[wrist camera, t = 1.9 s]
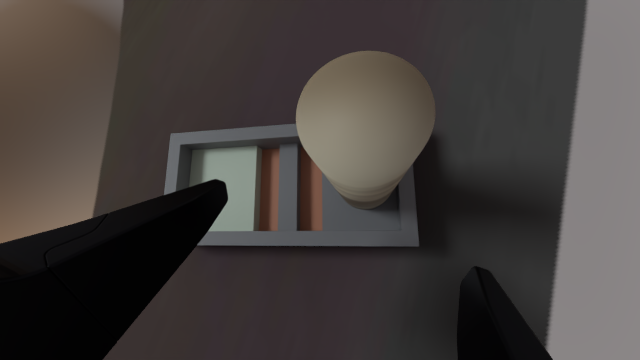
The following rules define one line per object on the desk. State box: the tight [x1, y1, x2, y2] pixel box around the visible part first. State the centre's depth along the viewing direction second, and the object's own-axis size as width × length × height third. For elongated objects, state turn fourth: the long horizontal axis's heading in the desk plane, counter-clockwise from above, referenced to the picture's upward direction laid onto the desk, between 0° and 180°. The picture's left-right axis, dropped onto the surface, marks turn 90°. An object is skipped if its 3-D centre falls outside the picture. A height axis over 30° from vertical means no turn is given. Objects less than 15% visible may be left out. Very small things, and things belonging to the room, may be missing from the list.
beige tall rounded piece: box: [296, 51, 435, 210], centre depth 13 cm, size 4×4×12 cm
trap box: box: [164, 124, 419, 246], centre depth 20 cm, size 9×19×3 cm, turn 90°
